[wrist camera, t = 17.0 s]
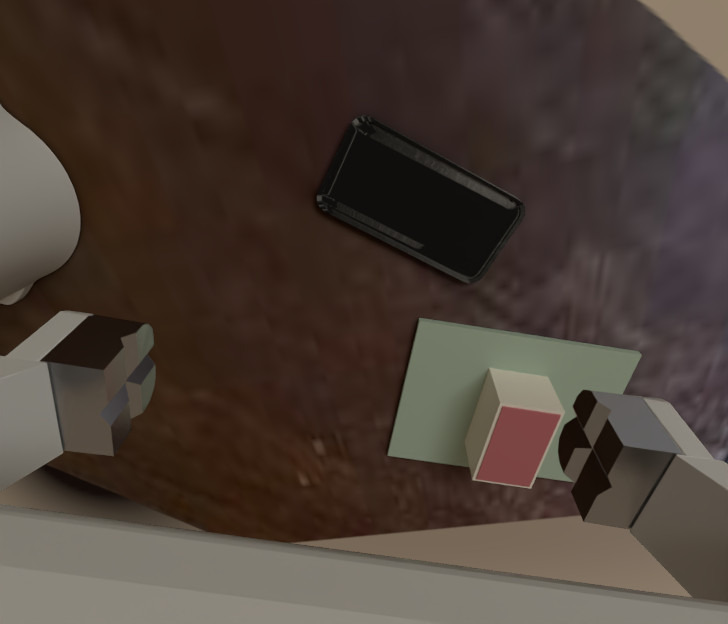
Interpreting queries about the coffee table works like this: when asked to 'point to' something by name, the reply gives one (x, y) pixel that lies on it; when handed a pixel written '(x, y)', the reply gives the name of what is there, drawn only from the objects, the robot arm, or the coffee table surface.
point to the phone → (418, 200)
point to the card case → (512, 428)
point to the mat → (467, 376)
